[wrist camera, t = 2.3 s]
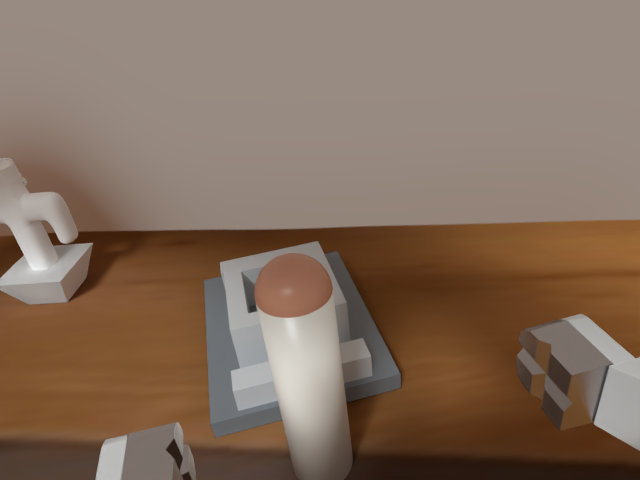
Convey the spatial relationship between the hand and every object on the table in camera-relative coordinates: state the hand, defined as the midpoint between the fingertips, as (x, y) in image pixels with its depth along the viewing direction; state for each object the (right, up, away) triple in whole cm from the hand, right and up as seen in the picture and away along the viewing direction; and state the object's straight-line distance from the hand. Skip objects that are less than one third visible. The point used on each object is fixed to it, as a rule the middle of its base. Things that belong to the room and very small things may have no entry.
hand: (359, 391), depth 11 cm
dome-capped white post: (-1, -11, +21) cm, 23 cm away
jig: (-4, -5, +32) cm, 32 cm away
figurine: (-29, -2, +42) cm, 51 cm away
